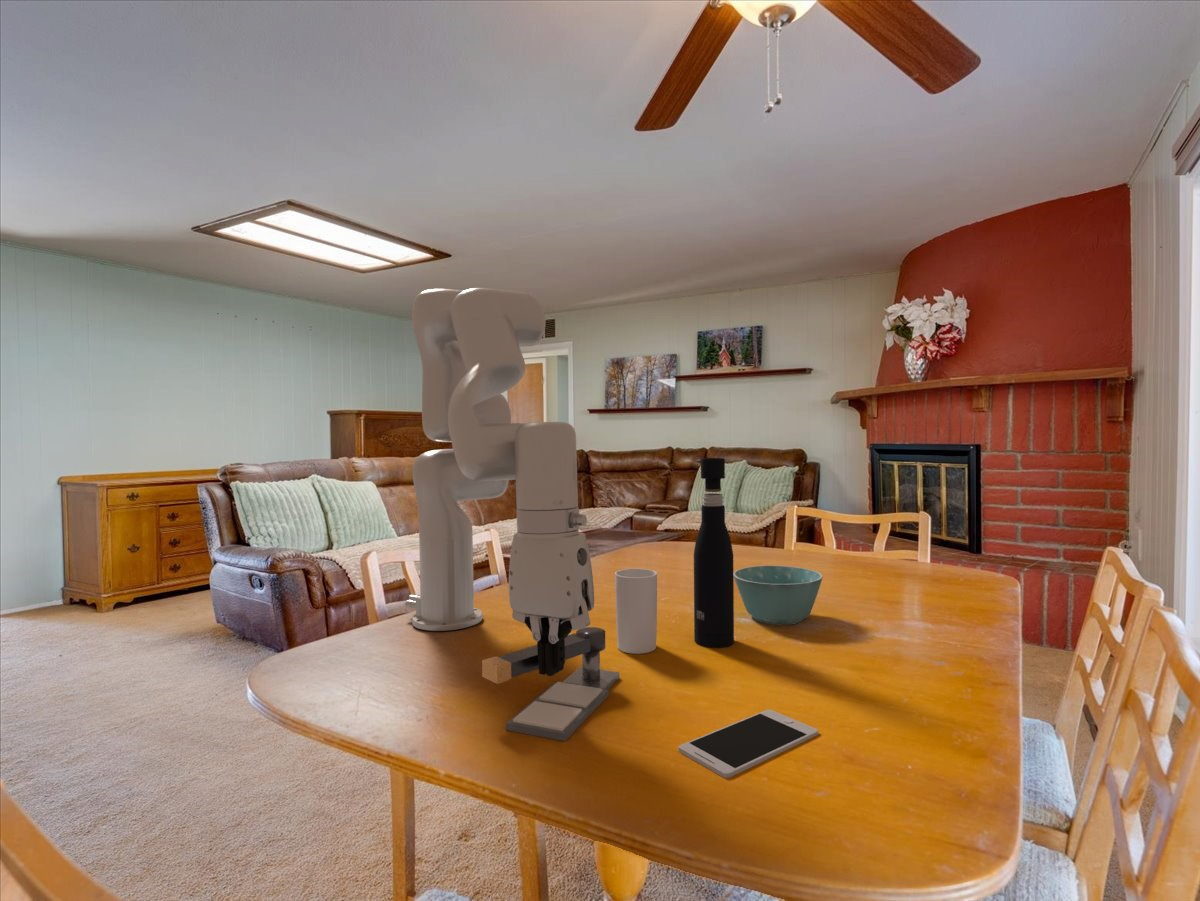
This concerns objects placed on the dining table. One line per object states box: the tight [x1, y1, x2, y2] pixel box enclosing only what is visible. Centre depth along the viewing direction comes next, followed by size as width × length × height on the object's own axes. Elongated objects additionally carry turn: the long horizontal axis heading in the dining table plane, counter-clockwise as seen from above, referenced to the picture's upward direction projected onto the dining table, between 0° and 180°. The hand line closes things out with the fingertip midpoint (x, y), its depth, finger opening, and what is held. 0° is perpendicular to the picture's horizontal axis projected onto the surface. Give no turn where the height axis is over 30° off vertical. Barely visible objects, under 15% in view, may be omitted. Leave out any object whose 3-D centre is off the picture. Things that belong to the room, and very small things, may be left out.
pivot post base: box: [562, 651, 620, 691], centre depth 88 cm, size 6×6×4 cm
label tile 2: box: [532, 681, 609, 718], centre depth 82 cm, size 8×7×1 cm
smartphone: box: [678, 709, 819, 779], centre depth 71 cm, size 7×15×1 cm, turn 126°
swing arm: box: [481, 626, 606, 684], centre depth 82 cm, size 18×4×2 cm, turn 134°
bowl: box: [733, 565, 823, 626], centre depth 117 cm, size 16×16×8 cm
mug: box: [614, 567, 658, 655], centre depth 103 cm, size 10×7×12 cm, turn 21°
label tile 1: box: [505, 700, 590, 742], centre depth 76 cm, size 8×7×1 cm
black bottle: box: [693, 457, 735, 649], centre depth 104 cm, size 6×6×30 cm
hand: (551, 671), depth 78 cm, fingers closed
